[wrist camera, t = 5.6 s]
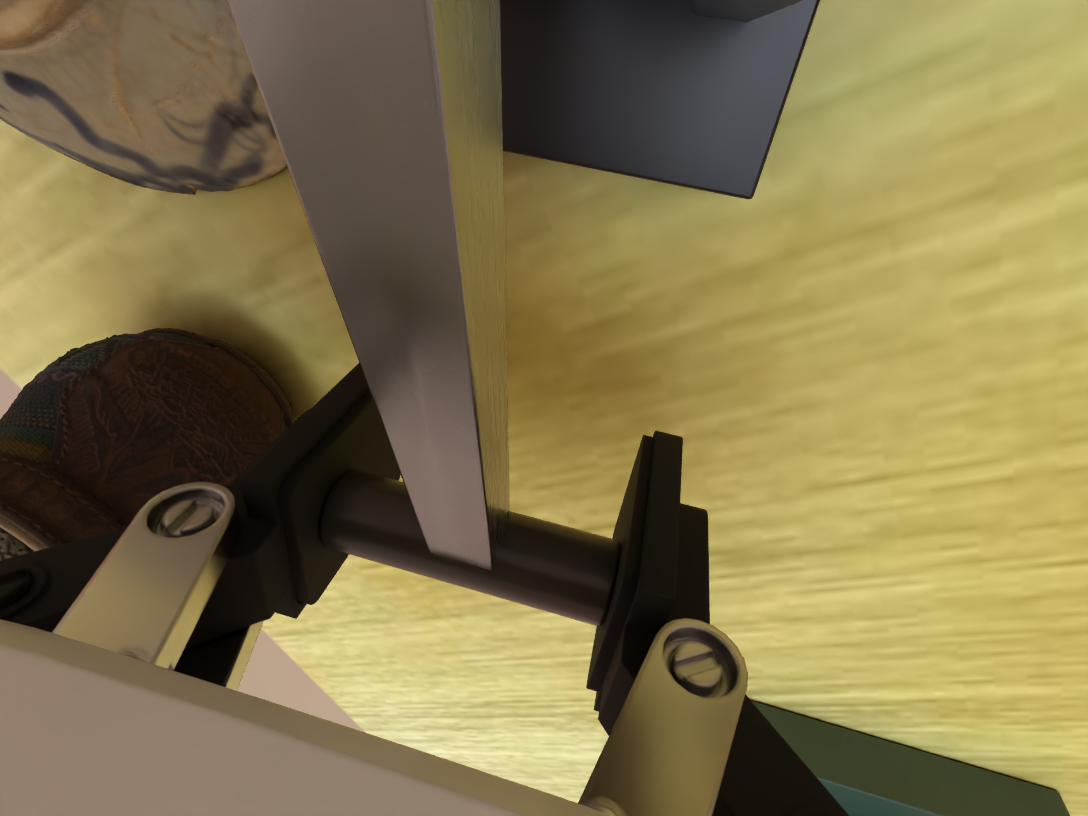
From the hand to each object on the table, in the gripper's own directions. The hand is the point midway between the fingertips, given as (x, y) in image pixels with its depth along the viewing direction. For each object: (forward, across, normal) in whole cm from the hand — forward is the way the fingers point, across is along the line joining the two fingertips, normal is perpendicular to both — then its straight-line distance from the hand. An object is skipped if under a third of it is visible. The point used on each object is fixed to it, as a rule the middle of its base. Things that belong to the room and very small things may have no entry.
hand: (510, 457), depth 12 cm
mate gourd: (+5, +11, +4) cm, 13 cm away
